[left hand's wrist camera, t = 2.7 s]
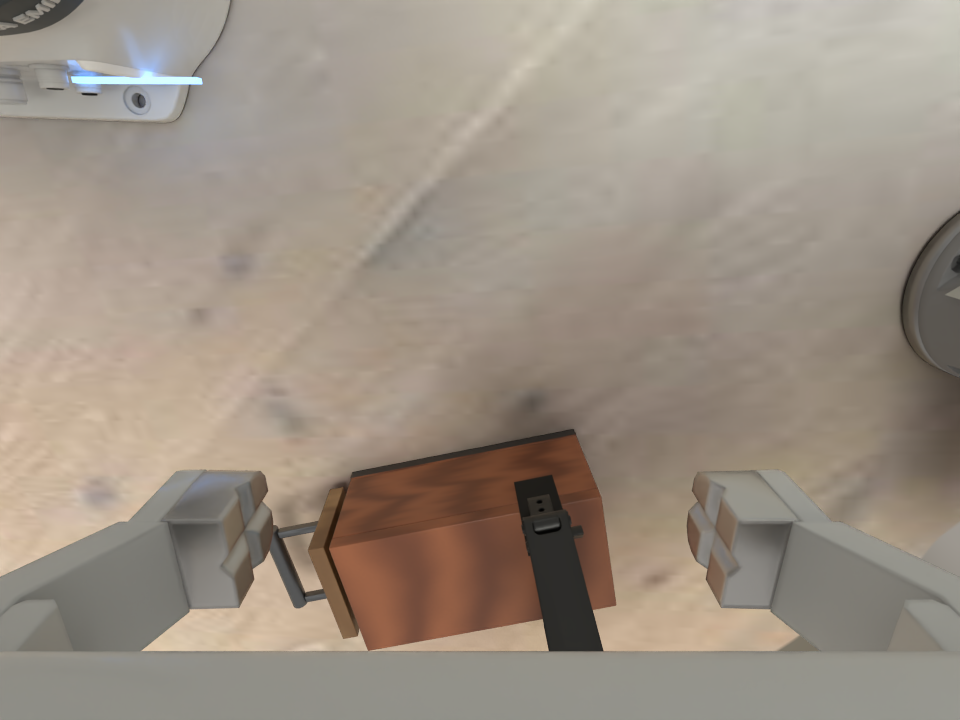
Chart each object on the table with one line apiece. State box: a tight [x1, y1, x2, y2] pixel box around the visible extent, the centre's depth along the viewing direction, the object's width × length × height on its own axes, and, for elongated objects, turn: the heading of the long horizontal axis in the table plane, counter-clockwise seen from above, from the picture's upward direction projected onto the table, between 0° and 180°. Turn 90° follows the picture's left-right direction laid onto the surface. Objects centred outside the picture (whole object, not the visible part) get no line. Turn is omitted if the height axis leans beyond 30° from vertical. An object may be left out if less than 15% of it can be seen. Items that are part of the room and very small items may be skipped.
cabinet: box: [329, 429, 616, 651], centre depth 44 cm, size 20×10×10 cm, turn 101°
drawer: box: [269, 487, 359, 639], centre depth 45 cm, size 23×9×8 cm, turn 101°
